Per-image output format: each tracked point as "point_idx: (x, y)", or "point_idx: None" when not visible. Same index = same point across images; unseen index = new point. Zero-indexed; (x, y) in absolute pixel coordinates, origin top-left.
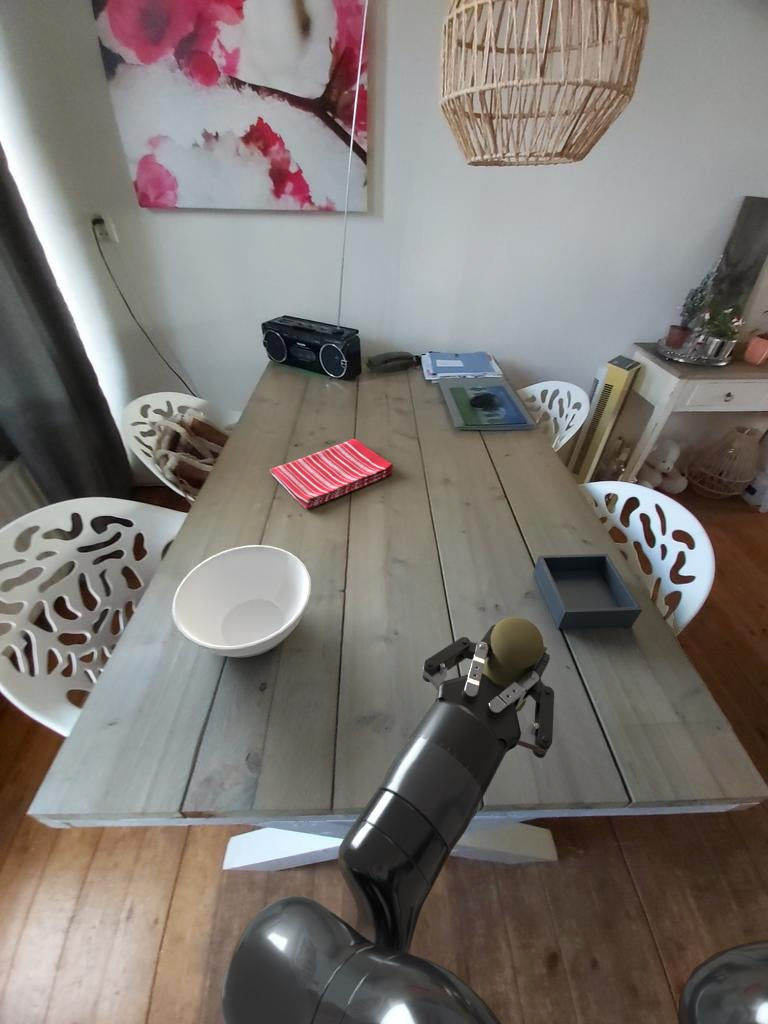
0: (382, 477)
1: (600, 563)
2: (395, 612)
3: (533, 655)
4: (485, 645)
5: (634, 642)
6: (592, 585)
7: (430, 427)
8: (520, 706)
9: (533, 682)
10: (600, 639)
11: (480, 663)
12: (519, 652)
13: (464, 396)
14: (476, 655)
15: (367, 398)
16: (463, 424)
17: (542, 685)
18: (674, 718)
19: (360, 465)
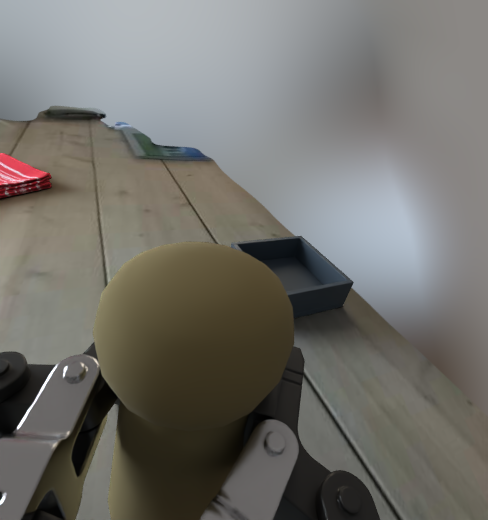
0: (35, 188)
1: (295, 247)
2: (9, 349)
3: (271, 356)
4: (89, 364)
5: (351, 322)
6: (292, 271)
7: (108, 155)
8: None
9: (283, 473)
10: (316, 327)
11: (28, 461)
12: (208, 356)
13: (146, 138)
14: (33, 418)
15: (37, 132)
16: (145, 154)
17: (313, 468)
18: (427, 406)
19: (4, 176)
